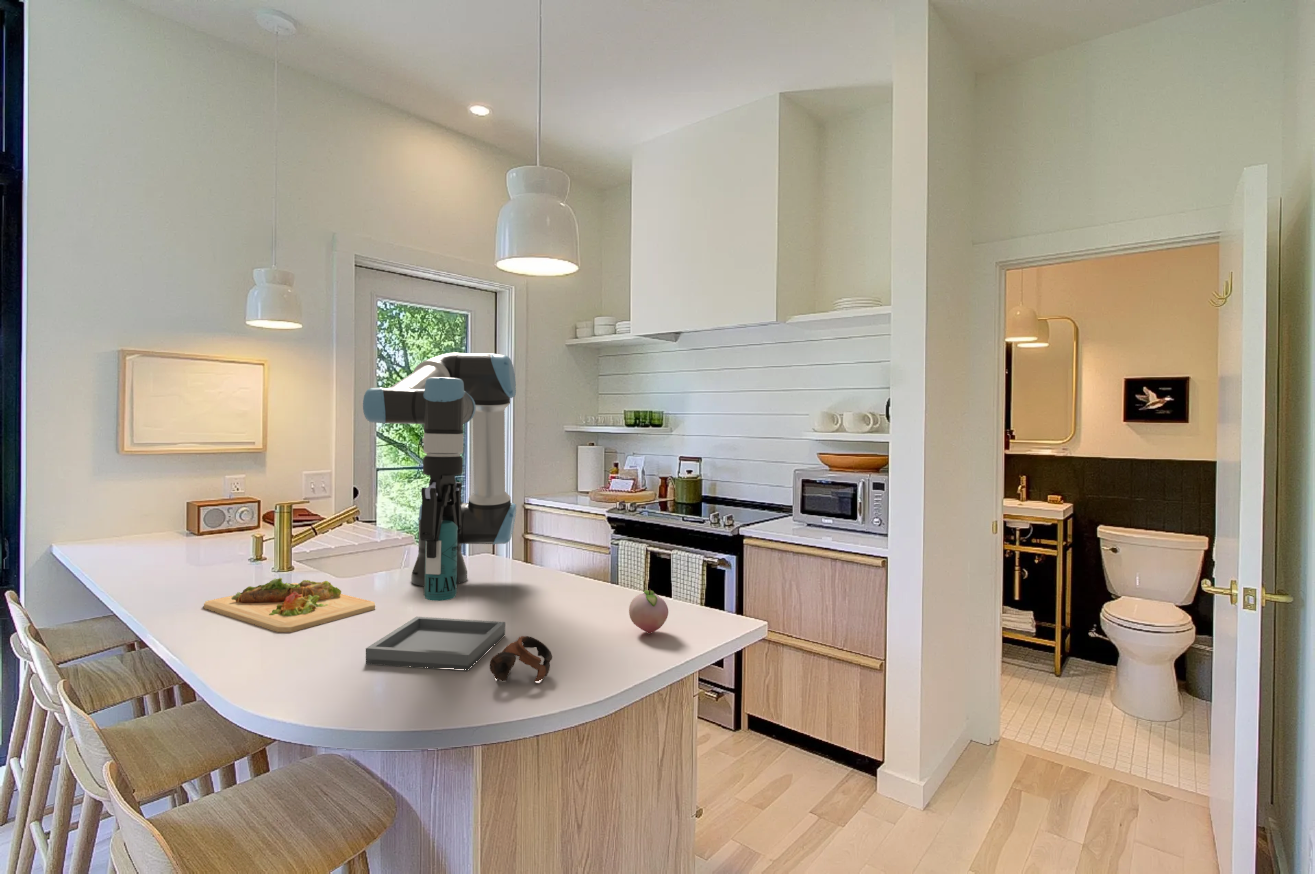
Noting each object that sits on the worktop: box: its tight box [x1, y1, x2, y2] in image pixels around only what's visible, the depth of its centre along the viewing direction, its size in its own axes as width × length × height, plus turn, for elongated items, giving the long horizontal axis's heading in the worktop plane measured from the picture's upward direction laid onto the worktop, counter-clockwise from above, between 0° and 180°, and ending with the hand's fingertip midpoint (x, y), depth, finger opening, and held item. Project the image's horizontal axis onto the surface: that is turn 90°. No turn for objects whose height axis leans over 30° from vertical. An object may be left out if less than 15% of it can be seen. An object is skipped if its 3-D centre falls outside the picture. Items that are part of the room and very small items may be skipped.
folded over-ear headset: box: [489, 635, 553, 682], centre depth 117 cm, size 12×10×8 cm
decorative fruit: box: [628, 588, 669, 634], centre depth 144 cm, size 9×8×10 cm
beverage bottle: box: [423, 505, 459, 602], centre depth 131 cm, size 6×7×20 cm
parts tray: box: [365, 616, 506, 670], centre depth 131 cm, size 20×20×3 cm
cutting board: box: [203, 577, 376, 633], centre depth 157 cm, size 35×23×8 cm
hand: (441, 569), depth 131 cm, fingers closed on beverage bottle, 6 cm apart
